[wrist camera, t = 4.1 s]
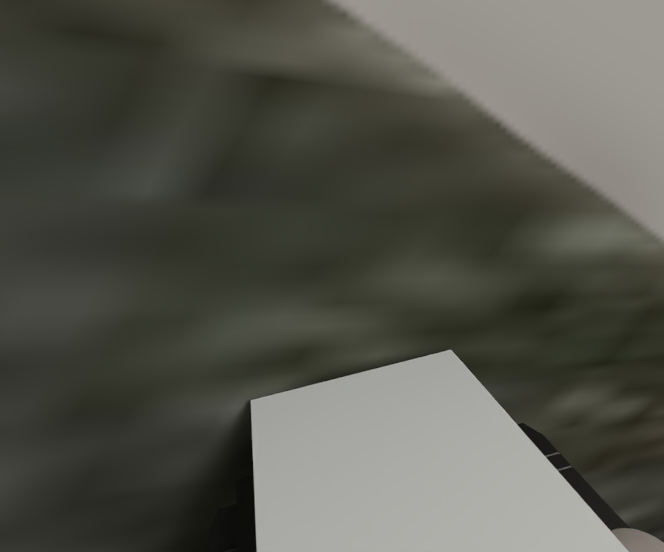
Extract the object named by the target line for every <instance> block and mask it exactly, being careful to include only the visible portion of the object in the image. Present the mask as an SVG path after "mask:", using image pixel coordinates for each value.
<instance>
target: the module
mask: <svg viewBox="0 0 664 552" xmlns="http://www.w3.org/2000/svg"><path fill="white" fill-rule="evenodd" d="M251 422H252V447H253V472H254V497H255V522H256V547H257V552H629V551H628V550H627V549H626V548H625V547H624V546H623V544H622V543H621V542H620V541H619V540H618V539H617V538H616V537H615V535H614V534H613V533H612V532H611V531H610V530H609V529H608V527H607V526H606V525H605V524H604V523H603V522H602V521H601V519H600V518H599V517H598V516H597V515H596V514H595V513H594V512H593V510H592V509H591V508H590V507H589V506H588V505H587V504H586V502H585V501H584V500H583V499H582V498H581V497H580V496H579V494H578V493H577V492H576V491H575V490H574V489H573V488H572V487H571V485H570V484H569V483H568V482H567V481H566V480H565V479H564V477H563V476H562V475H561V474H560V473H559V472H558V471H557V469H556V468H555V467H554V466H553V465H552V464H551V463H550V462H549V460H548V459H547V458H546V457H545V456H544V455H543V454H542V452H541V451H540V450H539V449H538V448H537V447H536V446H535V444H534V443H533V442H532V441H531V440H530V439H529V438H528V437H527V435H526V434H525V433H524V432H523V431H522V430H521V429H520V427H519V426H518V425H517V424H516V423H515V422H514V421H513V419H512V418H511V417H510V416H509V415H508V414H507V413H506V412H505V410H504V409H503V408H502V407H501V406H500V405H499V404H498V402H497V401H496V400H495V399H494V398H493V397H492V396H491V394H490V393H489V392H488V391H487V390H486V389H485V388H484V387H483V385H482V384H481V383H480V382H479V381H478V380H477V379H476V377H475V376H474V375H473V374H472V373H471V372H470V371H469V369H468V368H467V367H466V366H465V365H464V364H463V363H462V362H461V360H460V359H459V358H458V357H457V356H456V355H455V354H454V352H453V351H452V350H447V351H444V352H440V353H436V354H432V355H428V356H424V357H420V358H416V359H412V360H408V361H404V362H400V363H396V364H392V365H388V366H384V367H380V368H376V369H372V370H368V371H365V372H361V373H357V374H353V375H349V376H345V377H341V378H337V379H333V380H329V381H325V382H321V383H317V384H313V385H309V386H305V387H301V388H297V389H293V390H289V391H286V392H282V393H278V394H274V395H270V396H266V397H262V398H258V399H254V400H251Z"/></svg>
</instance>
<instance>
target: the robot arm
mask: <svg viewBox="0 0 664 552" xmlns="http://www.w3.org/2000/svg"><path fill="white" fill-rule="evenodd" d="M518 426H519V427H520V429H521V430H522V431H523V432H524V433H525V434H526V435H527V437H528V438H529V439H530V440H531V441H532V442H533V443H534V444H535V446H536V447H537V448H538V449H539V450H540V451H541V452H542V454H543V455H544V456H545V457H546V458H547V459H548V460H549V462H550V463H551V464H552V465H553V466H554V467H555V468H556V469H557V471H558V472H559V473H560V474H561V475H562V476H563V477H564V479H565V480H566V481H567V482H568V483H569V484H570V485H571V487H572V488H573V489H574V490H575V491H576V492H577V493H578V494H579V496H580V497H581V498H582V499H583V500H584V501H585V502H586V504H587V505H588V506H589V507H590V508H591V509H592V510H593V512H594V513H595V514H596V515H597V516H598V517H599V518H600V519H601V521H602V522H603V523H604V524H605V525H606V526H607V527H608V529H609V530H610V531H611V532H612V533H613V534H614V535H615V537H616V538H617V539H618V540H619V541H620V542H621V543H622V544H623V546H624V547H625V548H626V549H627V550H628V551H629V552H664V543H663V542H662V541H660V540H659V539H657V538H655V537H653V536H651V535H650V534H647V533H645V532H642V531H639V530H635V529H632V528H630V527H629V526H628V525H627V524H626V523H625V522H624V521H623V520H622V519H621V518H620V517H619V516H618V515H617V514H616V513H615V512H614V511H613V510H612V509H611V508H610V507H609V505H608V504H607V503H606V502H605V501H604V500H603V499H602V498H601V497H600V496H599V495H598V494H597V493H596V492H595V490H594V489H593V488H592V487H591V486H590V485H589V484H588V483H587V482H586V481H585V480H584V479H583V478H582V477H581V475H580V474H579V473H578V472H577V471H576V470H575V469H574V468H571V466H570V464H569V463H568V461H567V460H566V459H565V458H564V457H563V456H562V455H561V454H560V455H559V453H558V451H557V450H556V449H555V448H554V446H553V445H552V444H551V443H550V442H549V441H548V440H547V439H546V438H545V437H544V436H543V435H542V434H540V433H539V432H537V431H535V430H534V429H532V428H530V427H529V426H527V425H525V424H523V423H521V424H518ZM208 552H257V547H256V522H255V497H254V475H253V476H249V477H245V478H242V479H238V480H237V504H235V505H232V506H228V507H225V508H221V509H219V511H218V513H217V515H216V517H215V520H214V522H213V524H212V526H211V528H210V531H209V540H208Z"/></svg>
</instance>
